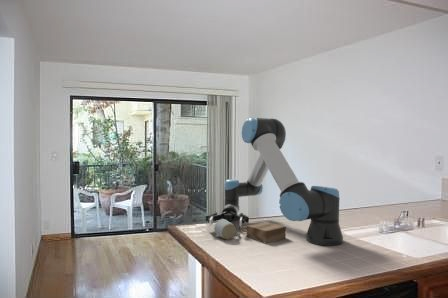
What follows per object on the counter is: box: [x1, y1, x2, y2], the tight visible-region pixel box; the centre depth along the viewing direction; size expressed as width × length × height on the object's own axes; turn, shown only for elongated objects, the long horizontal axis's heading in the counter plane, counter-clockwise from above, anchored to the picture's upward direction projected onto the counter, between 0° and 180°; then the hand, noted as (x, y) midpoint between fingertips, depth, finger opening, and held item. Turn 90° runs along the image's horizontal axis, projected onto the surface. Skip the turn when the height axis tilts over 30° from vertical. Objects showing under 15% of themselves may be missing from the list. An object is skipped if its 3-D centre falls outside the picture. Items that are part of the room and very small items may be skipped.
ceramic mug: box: [214, 218, 241, 241], centre depth 159 cm, size 11×8×8 cm
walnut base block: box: [246, 221, 287, 244], centre depth 159 cm, size 12×12×5 cm
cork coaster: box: [239, 225, 248, 232], centre depth 174 cm, size 9×9×1 cm
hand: (225, 223), depth 161 cm, fingers open, 13 cm apart
